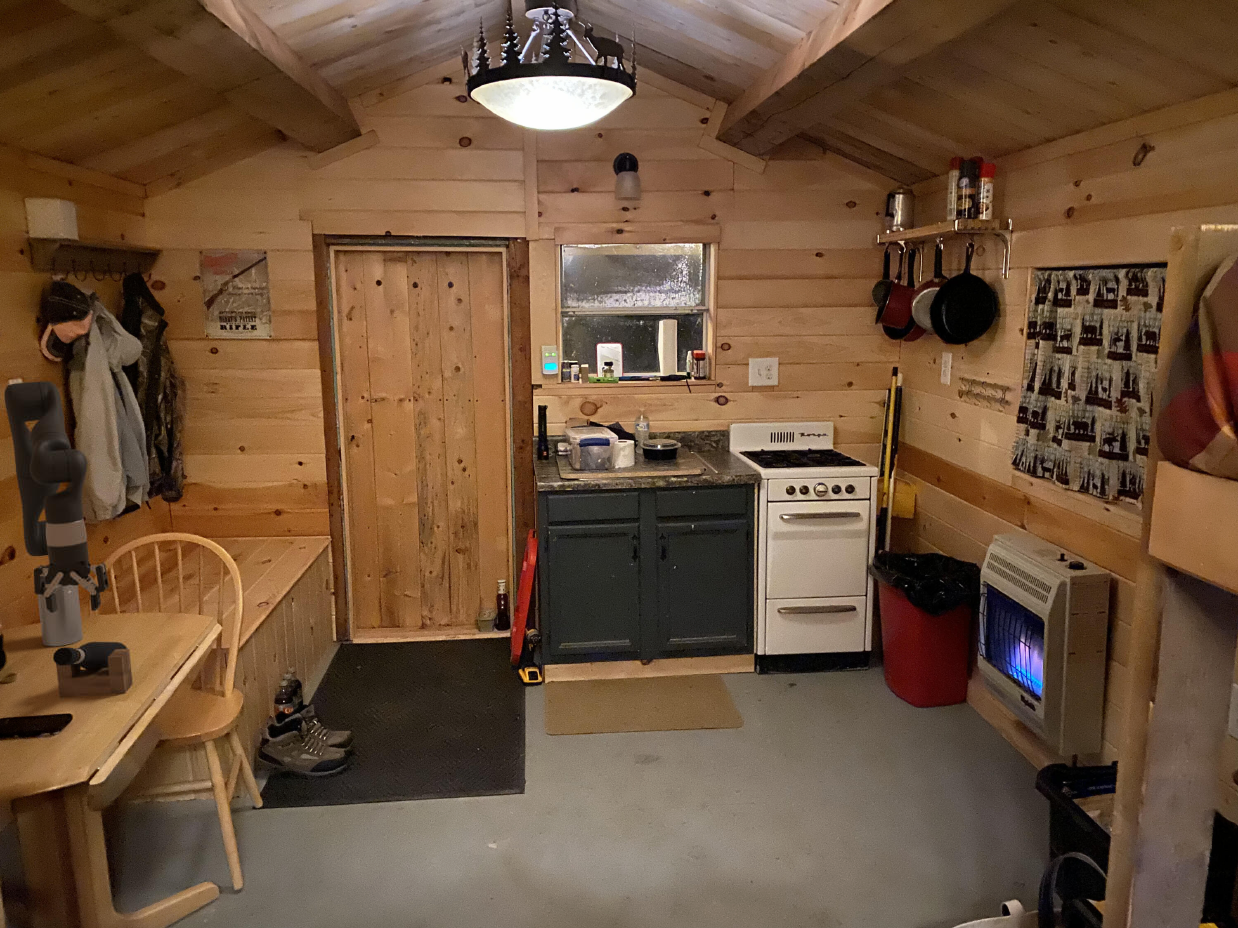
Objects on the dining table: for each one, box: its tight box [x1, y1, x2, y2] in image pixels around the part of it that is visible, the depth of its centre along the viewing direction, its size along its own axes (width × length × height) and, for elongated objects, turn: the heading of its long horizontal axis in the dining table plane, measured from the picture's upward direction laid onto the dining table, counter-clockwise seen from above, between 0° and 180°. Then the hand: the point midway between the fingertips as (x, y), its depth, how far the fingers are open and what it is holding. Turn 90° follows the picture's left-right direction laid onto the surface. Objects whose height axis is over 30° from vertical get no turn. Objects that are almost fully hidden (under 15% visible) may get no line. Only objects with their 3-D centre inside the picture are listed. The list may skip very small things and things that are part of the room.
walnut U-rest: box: [55, 648, 134, 698], centre depth 211 cm, size 5×14×9 cm, turn 100°
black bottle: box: [52, 641, 128, 670], centre depth 211 cm, size 6×6×30 cm
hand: (74, 610), depth 201 cm, fingers open, 8 cm apart
